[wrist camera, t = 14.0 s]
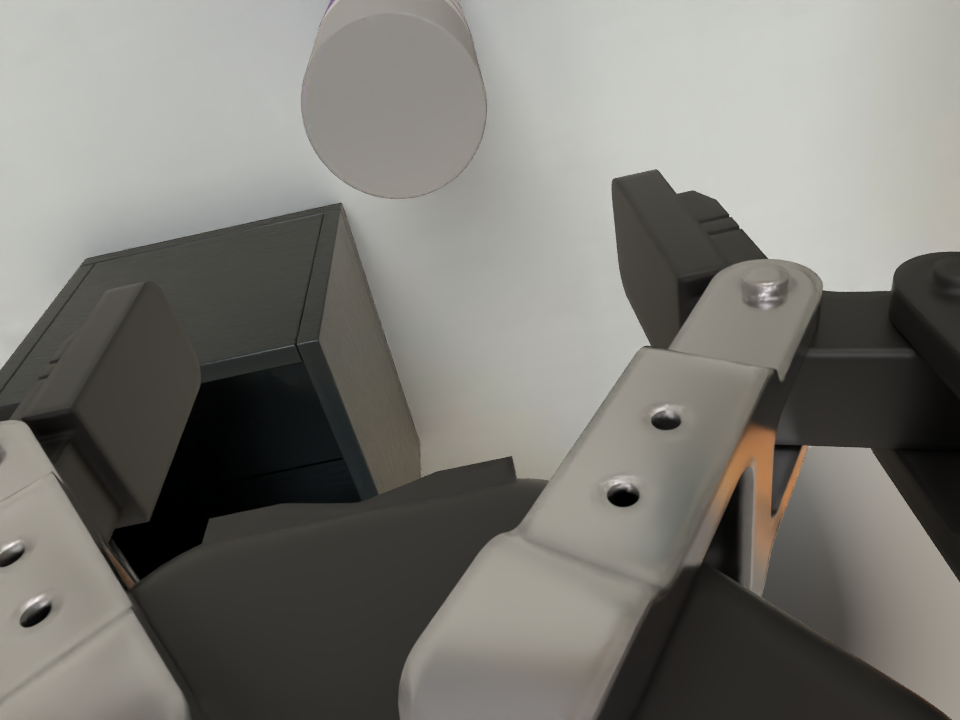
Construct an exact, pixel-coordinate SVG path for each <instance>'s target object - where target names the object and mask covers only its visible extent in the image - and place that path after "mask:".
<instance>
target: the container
mask: <svg viewBox="0 0 960 720" xmlns="http://www.w3.org/2000/svg"><path fill="white" fill-rule="evenodd" d="M301 111H302V118H303V123H304V127H305V130H306V133H307V136H308V138H309V141H310V143H311V145H312V147H313V149H314V150H315V152H316V154H317V155H318V157H319V158H320V159H321V161H322V162H323V163H324V164H325V165H326V167H327V168H328V169H329V170H330V171H331V172H332V173H333V174H334V175H335V176H337V177H338V178H339V179H340V180H342V181H343V182H345V183H346V184H348V185H350V186H351V187H353V188H355V189H357V190H359V191H362V192H364V193H367V194H370V195H373V196H377V197H382V198H390V199H405V198H413V197H418V196H422V195H425V194H428V193H431V192H433V191H435V190H438V189H439V188H441V187H443V186H445V185H446V184H448V183H449V182H451V181H452V180H453V179H454V178H456V177H457V176H458V175H459V174H460V173H461V172H462V171H463V170H464V169H465V168H466V166H467V165H468V164H469V162H470V161H471V160H472V158H473V157H474V155H475V153H476V151H477V149H478V147H479V145H480V142H481V140H482V137H483V133H484V129H485V124H486V115H487V103H486V94H485V88H484V84H483V80H482V76H481V72H480V68H479V64H478V60H477V56H476V52H475V48H474V44H473V40H472V36H471V33H470V30H469V28H468V25H467V22H466V20H465V17H464V15H463V12H462V9H461V7H460V4H459V2H458V0H331V1H330V4H329V6H328V8H327V10H326V12H325V14H324V17H323V19H322V21H321V24H320V26H319V30H318V33H317V37H316V40H315V43H314V47H313V50H312V53H311V56H310V59H309V63H308V66H307V69H306V72H305V76H304V80H303V85H302V92H301Z"/></svg>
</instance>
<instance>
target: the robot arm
mask: <svg viewBox="0 0 960 720" xmlns="http://www.w3.org/2000/svg"><path fill="white" fill-rule="evenodd" d="M612 201H613V212H614V222H615V232H616V242H617V252H618V262H619V269H620V275H621V279H622V283H623V287H624V290H625V293H626V296H627V298H628V300H629V302H630V304H631V306H632V308H633V310H634V312H635V314H636V316H637V318H638V320H639V322H640V324H641V326H642V328H643V330H644V332H645V334H646V336H647V338H648V340H649V342H650V344H651V346H644V347H642V348H641V349H640V350H639V351H638V352H637V353H636V354H635V356H634V357H633V359H632V360H631V362H630V363H629V364H628V366H627V367H626V369H625V370H624V372H623V373H622V375H621V376H620V378H619V379H618V381H617V382H616V384H615V385H614V387H613V388H612V390H611V391H610V392H609V394H608V395H607V397H606V398H605V400H604V401H603V403H602V404H601V406H600V407H599V409H598V410H597V412H596V413H595V415H594V416H593V418H592V419H591V420H590V422H589V423H588V425H587V426H586V428H585V429H584V431H583V432H582V434H581V435H580V437H579V438H578V440H577V441H576V443H575V444H574V446H573V447H572V449H571V450H570V451H569V453H568V454H567V456H566V457H565V459H564V460H563V462H562V463H561V465H560V466H559V468H558V469H557V471H556V472H555V474H554V475H553V477H552V478H551V479H550V481H548V480H539V479H521V478H517V476H516V471H515V467H514V463H513V459H512V456H511V457H506V458H501V459H496V460H491V461H486V462H481V463H477V464H472V465H467V466H462V467H457V468H452V469H448V470H443V471H438V472H435V473H432V474H430V475H427V476H425V477H422V478H420V479H417V480H415V481H412V482H410V483H407V484H405V485H402V486H400V487H397V488H395V489H392V490H390V491H387V492H385V493H382V494H380V495H378V496H375V497H373V498H370V499H368V500H365V501H362V502H358V503H287V504H278V505H273V506H268V507H263V508H258V509H253V510H249V511H244V512H239V513H234V514H229V515H224V516H220V517H215V518H210V519H209V521H208V525H207V528H206V532H205V535H204V538H203V542H202V544H201V545H198V546H196V547H194V548H192V549H190V550H188V551H186V552H184V553H182V554H180V555H178V556H176V557H174V558H173V559H171V560H169V561H168V562H166V563H164V564H163V565H161V566H160V567H158V568H157V569H155V570H154V571H153V572H151V573H150V574H148V575H147V576H145V577H144V578H143V579H142V580H140V579H139V577H138V576H137V574H136V573H135V571H134V570H133V568H132V567H131V565H130V563H129V562H128V560H127V559H126V557H125V556H124V554H123V553H122V551H121V550H120V548H119V547H118V546H117V544H116V543H115V542H114V540H113V539H112V538H111V536H112V533H113V531H114V529H116V528H121V527H126V526H130V525H135V524H140V523H145V522H149V521H150V518H151V516H152V513H153V510H154V508H155V505H156V502H157V500H158V497H159V494H160V492H161V489H162V486H163V484H164V481H165V478H166V476H167V473H168V470H169V468H170V465H171V462H172V460H173V457H174V454H175V452H176V449H177V446H178V444H179V441H180V438H181V436H182V433H183V431H184V428H185V425H186V423H187V420H188V417H189V415H190V412H191V409H192V407H193V404H194V401H195V399H196V396H197V393H198V391H199V388H200V384H201V371H200V366H199V362H198V358H197V356H196V353H195V351H194V349H193V347H192V346H191V344H190V342H189V340H188V338H187V336H186V334H185V332H184V330H183V328H182V327H181V325H180V323H179V321H178V319H177V317H176V315H175V313H174V311H173V309H172V308H171V306H170V304H169V302H168V300H167V298H166V296H165V294H164V293H163V291H162V290H161V288H160V287H159V286H158V285H157V284H156V283H154V282H152V281H147V282H142V283H137V284H133V285H128V286H124V287H119V288H115V289H110V290H107V291H106V292H105V293H104V294H103V295H102V297H101V298H100V300H99V301H98V303H97V304H96V306H95V307H94V309H93V310H92V312H91V313H90V315H89V316H88V318H87V319H86V321H85V322H84V324H83V325H82V326H81V327H80V328H79V329H77V330H76V331H75V332H74V333H73V334H71V335H70V336H69V337H68V338H67V339H66V340H64V341H63V342H62V343H61V345H60V346H59V348H58V349H57V350H56V352H55V353H54V355H53V356H52V358H51V359H50V361H49V363H50V365H46V366H45V368H44V369H43V371H42V372H41V374H40V375H39V377H38V378H39V380H38V381H35V382H34V384H33V385H32V387H31V388H30V390H29V391H28V393H27V394H26V396H25V397H24V398H23V400H22V401H21V403H20V404H19V406H18V407H17V409H16V410H15V412H14V413H13V414H12V416H11V417H10V419H9V420H7V421H1V422H0V720H952V719H950V718H949V717H948V716H947V715H946V714H944V713H943V712H942V711H940V710H939V709H938V708H936V707H935V706H933V705H932V704H931V703H929V702H928V701H926V700H925V699H923V698H922V697H920V696H919V695H917V694H916V693H914V692H912V691H911V690H909V689H908V688H906V687H905V686H903V685H901V684H900V683H898V682H897V681H895V680H893V679H892V678H890V677H889V676H887V675H885V674H884V673H882V672H880V671H879V670H877V669H876V668H874V667H872V666H871V665H869V664H868V663H866V662H864V661H863V660H861V659H860V658H858V657H856V656H855V655H853V654H852V653H850V652H848V651H847V650H845V649H844V648H842V647H840V646H839V645H837V644H836V643H834V642H832V641H831V640H829V639H827V638H826V637H824V636H823V635H821V634H819V633H818V632H816V631H815V630H813V629H811V628H810V627H808V626H807V625H805V624H803V623H802V622H800V621H798V620H797V619H795V618H794V617H792V616H791V615H789V614H787V613H786V612H784V611H783V610H781V609H779V608H778V607H776V606H775V605H773V604H771V603H770V602H768V601H767V600H765V599H763V598H762V597H761V596H762V592H763V588H764V584H765V580H766V575H767V570H768V565H769V559H770V554H771V550H772V546H773V542H774V540H775V537H776V534H777V531H778V529H779V526H780V523H781V521H782V518H783V515H784V512H785V510H786V507H787V504H788V501H789V499H790V496H791V494H792V491H793V488H794V485H795V483H796V480H797V478H798V475H799V472H800V470H801V467H802V464H803V462H804V459H805V456H806V453H807V451H808V446H835V447H863V448H871V449H872V451H873V453H874V454H875V456H876V458H877V459H878V461H879V462H880V464H881V465H882V467H883V468H884V470H885V471H886V473H887V474H888V476H889V477H890V479H891V480H892V482H893V483H894V485H895V486H896V488H897V489H898V491H899V492H900V494H901V495H902V496H903V498H904V499H905V501H906V502H907V504H908V505H909V507H910V509H911V510H912V512H913V513H914V515H915V516H916V517H917V519H918V520H919V522H920V523H921V525H922V526H923V528H924V529H925V531H926V532H927V534H928V535H929V537H930V538H931V540H932V541H933V543H934V544H935V546H936V547H937V549H938V550H939V552H940V553H941V555H942V556H943V558H944V559H945V561H946V562H947V564H948V565H949V567H950V568H951V570H952V571H953V573H954V574H955V576H956V577H957V579H958V580H959V582H960V252H937V253H930V254H925V255H921V256H917V257H914V258H912V259H910V260H908V261H906V262H904V263H903V264H901V265H900V266H899V267H898V268H897V269H896V271H895V273H894V277H893V284H892V290H891V291H873V292H833V291H824V290H823V285H822V281H821V279H820V277H819V276H818V275H817V274H816V273H815V272H814V271H812V270H811V269H809V268H807V267H805V266H803V265H800V264H797V263H794V262H790V261H784V260H776V259H768V258H767V257H766V256H765V255H764V254H763V252H762V251H761V250H760V249H759V248H758V247H757V246H756V245H755V243H754V242H753V241H752V240H751V239H750V238H749V237H748V235H747V234H746V233H745V232H744V231H743V230H742V229H739V225H738V224H737V223H736V222H735V221H734V220H733V218H732V217H729V214H728V213H727V212H726V210H725V209H724V208H723V207H722V206H721V205H720V204H719V203H718V201H717V200H715V199H713V198H710V197H708V196H705V195H703V194H701V193H698V192H696V191H688V192H684V193H679V194H676V193H675V191H674V190H673V189H672V187H671V186H670V185H669V184H668V182H667V181H666V180H665V178H664V177H663V176H662V175H661V173H660V172H659V171H658V170H657V169H655V170H651V171H646V172H642V173H637V174H633V175H628V176H624V177H619V178H615V179H613V180H612Z"/></svg>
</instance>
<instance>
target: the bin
mask: <svg viewBox="0 0 960 720" xmlns="http://www.w3.org/2000/svg"><path fill="white" fill-rule="evenodd" d="M147 281H152V282H154V283H156V284H157V285H158V286H159V287H160V288H161V290H162V291H163V293H164V294H165V296H166V298H167V300H168V302H169V304H170V306H171V308H172V309H173V311H174V313H175V315H176V317H177V319H178V321H179V323H180V325H181V327H182V328H183V330H184V332H185V334H186V336H187V338H188V340H189V342H190V344H191V346H192V347H193V349H194V351H195V353H196V356H197V358H198V362H199V366H200V371H201V384H200V388H199V391H198V393H197V396H196V399H195V401H194V404H193V407H192V409H191V412H190V415H189V417H188V420H187V423H186V425H185V428H184V431H183V433H182V436H181V438H180V441H179V444H178V446H177V449H176V452H175V454H174V457H173V460H172V462H171V465H170V468H169V470H168V473H167V476H166V478H165V481H164V484H163V486H162V489H161V492H160V494H159V497H158V500H157V502H156V505H155V508H154V510H153V513H152V516H151V518H150V521H149V522H145V523H140V524H135V525H130V526H126V527H121V528H116V529H114V531H113V533H112V536H111V538H112V539H113V540H114V542H115V543H116V544H117V546H118V547H119V548H120V550H121V551H122V553H123V554H124V556H125V557H126V559H127V560H128V562H129V563H130V565H131V567H132V568H133V570H134V571H135V573H136V574H137V576H138V577H139V579H140V580H142V579H143V578H144V577H145V576H147V575H148V574H150V573H151V572H153V571H154V570H155V569H157V568H158V567H160V566H161V565H163V564H164V563H166V562H168V561H169V560H171V559H173V558H174V557H176V556H178V555H180V554H182V553H184V552H186V551H188V550H190V549H192V548H194V547H196V546H198V545H201V544H202V542H203V538H204V535H205V532H206V528H207V525H208V521H209V519H210V518H215V517H220V516H224V515H229V514H234V513H239V512H244V511H249V510H253V509H258V508H263V507H268V506H273V505H278V504H287V503H358V502H362V501H365V500H368V499H370V498H373V497H375V496H378V495H380V494H382V493H385V492H387V491H390V490H392V489H395V488H397V487H400V486H402V485H405V484H407V483H410V482H412V481H415V480H417V479H420V478H421V465H420V443H419V440H418V437H417V433H416V430H415V427H414V424H413V421H412V418H411V415H410V412H409V409H408V406H407V403H406V400H405V397H404V393H403V390H402V387H401V384H400V381H399V378H398V375H397V372H396V369H395V366H394V363H393V360H392V357H391V353H390V350H389V347H388V344H387V341H386V338H385V335H384V332H383V329H382V326H381V323H380V320H379V316H378V313H377V310H376V307H375V304H374V301H373V298H372V295H371V292H370V289H369V286H368V283H367V280H366V276H365V273H364V270H363V267H362V264H361V261H360V258H359V255H358V252H357V249H356V246H355V243H354V240H353V236H352V233H351V230H350V227H349V224H348V221H347V218H346V215H345V212H344V209H343V206H342V203H338V204H333V205H329V206H324V207H320V208H315V209H310V210H306V211H301V212H297V213H292V214H288V215H283V216H279V217H274V218H269V219H265V220H260V221H256V222H251V223H247V224H242V225H238V226H233V227H229V228H224V229H219V230H215V231H210V232H206V233H201V234H197V235H192V236H188V237H183V238H178V239H174V240H169V241H165V242H160V243H156V244H151V245H147V246H142V247H138V248H133V249H128V250H124V251H119V252H115V253H110V254H106V255H101V256H97V257H92V258H87V259H85V260H84V262H83V263H82V264H81V266H80V267H79V268H78V270H77V271H76V272H75V274H74V275H73V276H72V278H71V279H70V280H69V281H68V283H67V284H66V285H65V287H64V288H63V289H62V291H61V292H60V293H59V294H58V296H57V297H56V298H55V300H54V301H53V302H52V304H51V305H50V306H49V307H48V309H47V310H46V311H45V313H44V314H43V315H42V317H41V318H40V319H39V320H38V322H37V323H36V324H35V326H34V327H33V328H32V330H31V331H30V332H29V333H28V335H27V336H26V337H25V339H24V340H23V341H22V343H21V344H20V345H19V346H18V348H17V349H16V350H15V352H14V353H13V354H12V356H11V357H10V358H9V359H8V361H7V362H6V363H5V365H4V366H3V367H2V369H1V370H0V422H1V421H7V420H9V419H10V417H11V416H12V414H13V413H14V412H15V410H16V409H17V407H18V406H19V404H20V403H21V401H22V400H23V398H24V397H25V396H26V394H27V393H28V391H29V390H30V388H31V387H32V385H33V384H34V382H35V381H38V380H39V378H38V377H39V375H40V374H41V372H42V371H43V369H44V368H45V366H46V365H50V363H49V361H50V359H51V358H52V356H53V355H54V353H55V352H56V350H57V349H58V348H59V346H60V345H61V343H62V342H63V341H64V340H66V339H67V338H68V337H69V336H70V335H71V334H73V333H74V332H75V331H76V330H77V329H79V328H80V327H81V326H82V325H83V324H84V322H85V321H86V319H87V318H88V316H89V315H90V313H91V312H92V310H93V309H94V307H95V306H96V304H97V303H98V301H99V300H100V298H101V297H102V295H103V294H104V293H105V292H106V291H107V290H110V289H115V288H119V287H124V286H128V285H133V284H137V283H142V282H147Z"/></svg>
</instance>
